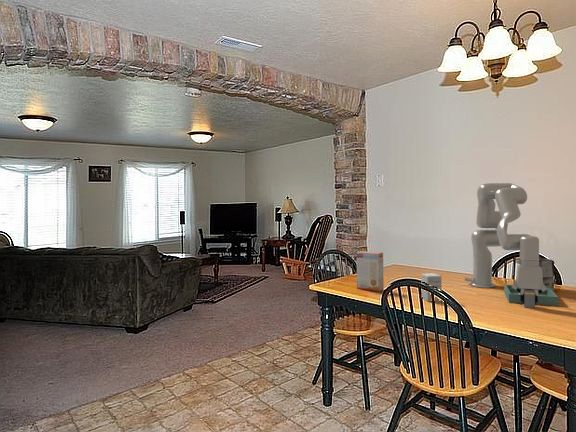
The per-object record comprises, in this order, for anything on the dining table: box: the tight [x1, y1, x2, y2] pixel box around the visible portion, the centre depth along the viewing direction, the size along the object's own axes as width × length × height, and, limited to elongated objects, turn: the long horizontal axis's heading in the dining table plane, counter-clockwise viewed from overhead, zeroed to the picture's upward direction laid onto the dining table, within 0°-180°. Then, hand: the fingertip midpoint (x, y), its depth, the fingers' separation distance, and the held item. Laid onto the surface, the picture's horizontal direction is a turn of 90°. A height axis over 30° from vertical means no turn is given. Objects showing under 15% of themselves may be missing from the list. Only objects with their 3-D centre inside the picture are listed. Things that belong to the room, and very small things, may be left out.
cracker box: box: [356, 250, 385, 292], centre depth 227 cm, size 14×6×21 cm, turn 47°
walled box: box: [503, 284, 559, 307], centre depth 201 cm, size 20×22×4 cm
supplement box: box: [421, 272, 443, 302], centre depth 202 cm, size 7×7×13 cm
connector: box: [522, 289, 536, 309], centre depth 186 cm, size 4×4×9 cm
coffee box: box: [539, 258, 555, 292], centre depth 220 cm, size 9×6×16 cm
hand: (528, 302), depth 186 cm, fingers closed on connector, 4 cm apart
